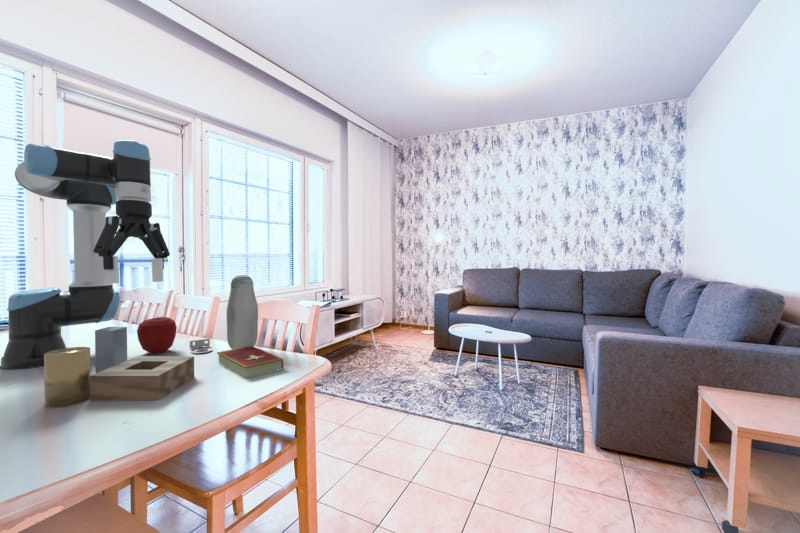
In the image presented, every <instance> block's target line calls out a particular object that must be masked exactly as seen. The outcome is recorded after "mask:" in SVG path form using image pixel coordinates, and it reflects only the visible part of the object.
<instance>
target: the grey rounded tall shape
mask: <svg viewBox="0 0 800 533" xmlns="http://www.w3.org/2000/svg"><path fill="white" fill-rule="evenodd" d="M254 289H255V288H254V281H253V279H252V278H251V277H250V276H249V275H244V274H242V275H241V274H239V275H236V276H234V277H233V278H232V279H231V283H230V293H229V297H228V302H227V306H226V338H227V340H226V341H227V344H228V346H229V347H230V350H232V349H238V348H243V347H249V346H253V347H255V345H256V343H257V341H258V333H259V329H258V324H259V323H258V321H259V305H258V301H257V297H256V294H255V290H254Z"/></svg>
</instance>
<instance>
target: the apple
mask: <svg viewBox="0 0 800 533" xmlns="http://www.w3.org/2000/svg"><path fill="white" fill-rule="evenodd" d="M177 328H178V326H177V324H176V321H175V320H174V319H173V318H171V317H168V316H160V317H159V316H157V317H153V318H148V319H144V320H143V321H142V322H141V323H139V325H138V327H137V329H136V333H137V334H136V335H137V340H138V341H139V342H138V343H139V344H140V346H141V349H142V350H144V351H145V352H147V353H149V354H153V355H155V354H156V355H157V354H158V355H159V354H163V353H166V352H168V350H169V349H170V348H172V346H173V344H174V341H175V339H176V334H177Z"/></svg>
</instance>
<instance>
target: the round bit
mask: <svg viewBox="0 0 800 533" xmlns="http://www.w3.org/2000/svg"><path fill="white" fill-rule="evenodd" d="M43 367H44V370H43V371H44V373H43V374H44V404H45V405H44V407H46V408H48V407H49V409H55V408H56V409H58V407H59V408H65V407H71V406H74V405H79V404H81V403H83V402H86V401H87V400H90V376H91V374H92V372H91V369H92V368H91V348H90V347H88V346H74V347H66V348H64V349H58V350H53V351H50V352H47V353H45V354H44V365H43Z"/></svg>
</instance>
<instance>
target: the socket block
mask: <svg viewBox="0 0 800 533" xmlns="http://www.w3.org/2000/svg"><path fill="white" fill-rule="evenodd" d="M193 378H195V356H194V355H193V356H187V355H186V356H175V355H174V356H170V355H169V356H165V355H161V356H160V355H159V356H156V355H155V356H154V355H153V356H150V355H149V356H147V355H144V356H140V355H139V356H138V355H137V356H134V357H132V358H130V359H127V361H125V362H122V363H120V364H117V365H115V366H112V367H110V368H108V369H105V370H103V371H100V372H98V373H96V372H95V373H94V374H92V375H91V376H90V398H89V400H90V401H159V400H161V399H162V398H164V397H166V396H167V395H168V394H170V393H172V392H173V391H175V390H176V389H178V388H180V387H181V386H182V385H184V384H185V383H187V382H189V381H190V380H192V379H193Z"/></svg>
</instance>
